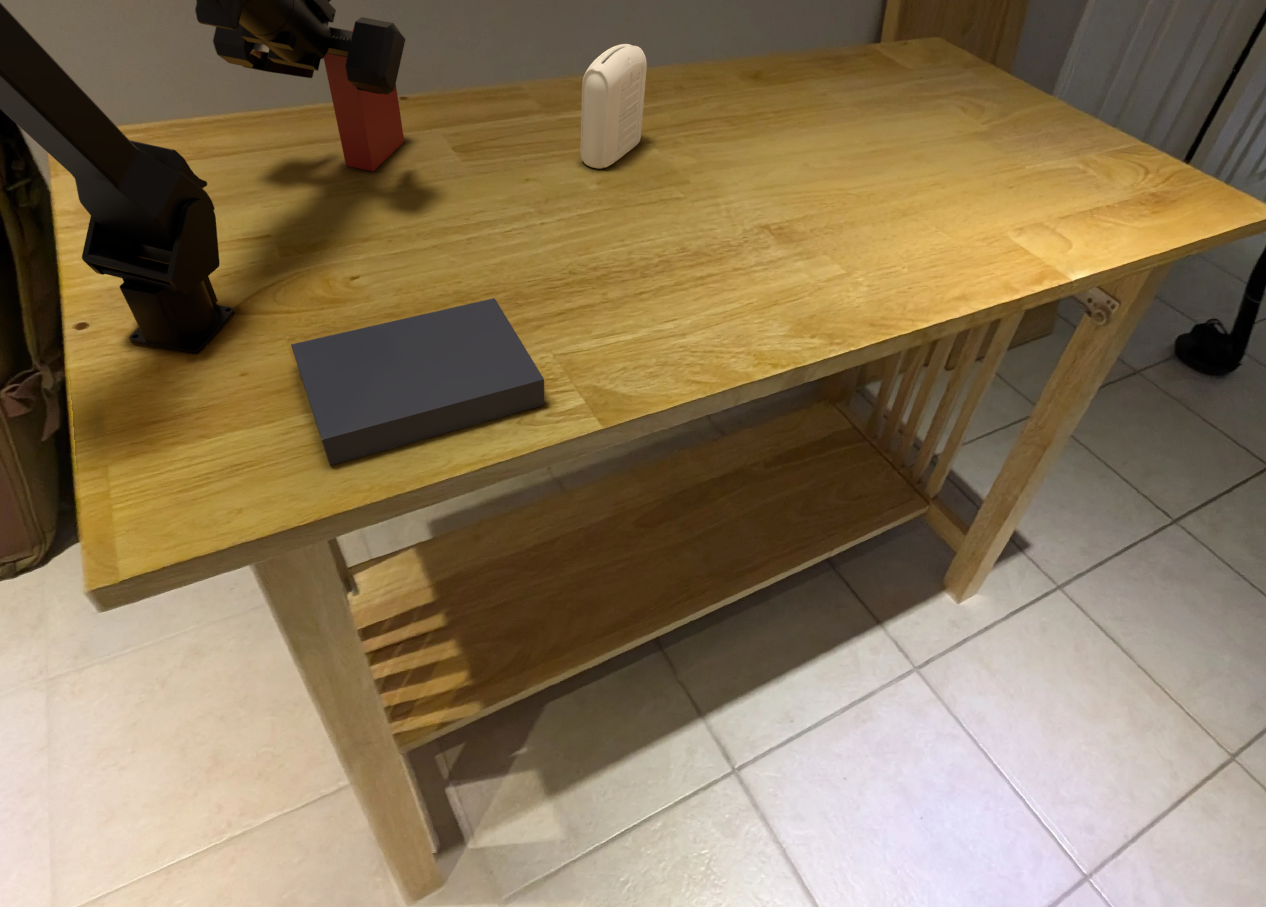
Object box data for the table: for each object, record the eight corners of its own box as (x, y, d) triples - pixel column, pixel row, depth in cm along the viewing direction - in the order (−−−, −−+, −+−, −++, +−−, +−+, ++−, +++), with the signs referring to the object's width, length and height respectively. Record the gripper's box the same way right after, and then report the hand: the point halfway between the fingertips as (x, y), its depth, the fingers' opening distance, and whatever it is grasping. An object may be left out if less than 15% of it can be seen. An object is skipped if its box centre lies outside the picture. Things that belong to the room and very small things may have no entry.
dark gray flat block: (330, 466, 61) (321, 439, 59) (299, 371, 68) (290, 344, 66) (545, 404, 68) (545, 378, 66) (497, 323, 75) (495, 297, 73)
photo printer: (616, 132, 103) (622, 31, 94) (645, 141, 102) (653, 40, 93) (575, 163, 97) (576, 58, 88) (605, 173, 96) (610, 68, 86)
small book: (373, 171, 92) (352, 55, 82) (345, 165, 92) (321, 49, 83) (405, 141, 97) (388, 29, 88) (378, 136, 98) (359, 23, 88)
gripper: (379, -71, 69) (446, 22, 85) (190, -103, 72) (288, -7, 87) (351, 55, 70) (422, 125, 85) (165, 20, 72) (267, 93, 88)
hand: (350, 81), depth 86 cm, fingers open, 9 cm apart
